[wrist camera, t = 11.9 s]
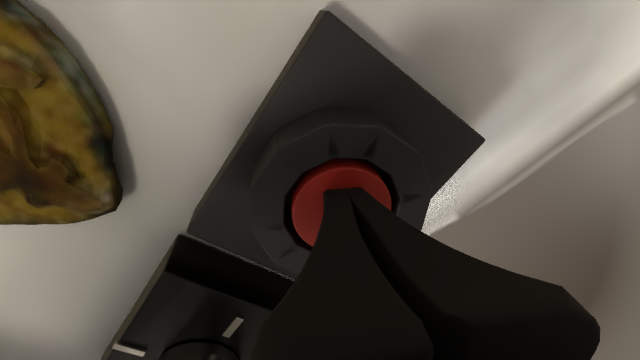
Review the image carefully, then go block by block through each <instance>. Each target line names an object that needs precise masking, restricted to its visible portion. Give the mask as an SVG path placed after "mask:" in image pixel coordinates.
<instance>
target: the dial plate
mask: <svg viewBox="0 0 640 360" xmlns="http://www.w3.org/2000/svg"><path fill="white" fill-rule="evenodd" d="M293 283H294V282H292V281H290V280H287V279H285V278H283V277H280V276H278V275H276V274H273V273H271V272H268V271H266V270H264V269H261V268H259V267H256V266H254V265H252V264H249V263H247V262H244V261H242V260H240V259H237V258H235V257H233V256H230V255H228V254H225V253H223V252H221V251H218V250H216V249H213V248H211V247H209V246H206V245H204V244H202V243H199V242H197V241H194V240H192V239H190V238H187V237H185V236H182V235H178V236H177V238H176V239H175V241H174V242H173V244H172V246H171V247H170V249H169V250H168V252H167V254H166V255H165V257H164V258H163V260H162V262H161V263H160V265H159V266H158V268H157V270H156V271H155V273H154V274H153V276H152V278H151V279H150V281H149V282H148V284H147V286H146V287H145V289H144V290H143V292H142V293H141V295H140V297H139V298H138V300H137V301H136V303H135V305H134V306H133V308H132V309H131V311H130V313H129V314H128V316H127V317H126V319H125V321H124V322H123V324H122V325H121V327H120V329H119V330H118V332H117V333H116V335H115V337H114V338H113V340H112V341H111V343H110V345H109V346H108V348H107V349H106V351H105V353H104V354H103V356H102V358H101V360H159V358H160V357H161V356H162V355H163V354H164V353H165V352H166V351H167V350H169V349H171V348H173V347H175V346H177V345H180V344H184V343H190V342H209V343H215V344H218V345H221V346H224V347H226V348H228V349H229V350H231V351H232V352H233V353H235V355H236V356H237V357H238V359H239V360H250V356H251V353H252V350H253V346H254V343H255V340H256V338H257V335H258V332H259V329H260V327H261V324H262V323H263V321H264V320H265V319H266V318H267V317H268V316H269V314H270V313H271V312H272V311H273V310H274V308H275V307H276V306H277V305H278V304H279V303H280V301H281V300H282V299H283V297H284V296H285V295H286V293H287V292H288V290H289V289H290V287H291V286H292V284H293Z"/></svg>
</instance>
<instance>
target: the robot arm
mask: <svg viewBox="0 0 640 360" xmlns="http://www.w3.org/2000/svg"><path fill="white" fill-rule="evenodd" d="M323 211H324V212H323V217H322V222H321V225H320V228H319V232H318V235H317V238H316V240H315V243H314V246H313V248H312V250H311V252H310V255H309V257H308V259H307V261H306V263H305V264H304V266H303V268H302V270H301V272H300V273H299V275H298V277H297V278H296V280H295V281H294V283H293V284H292V286H291V287H290V289H289V290H288V292H287V293H286V295H285V296H284V297H283V299H282V300H281V301H280V303H279V304H278V305H277V306H276V307H275V308H274V310H273V311H272V312H271V313H270V314H269V316H268V317H267V318H266V319H265V320H264V321H263V323H262V324H261V327H260V329H259V332H258V335H257V338H256V340H255V343H254V346H253V350H252V353H251V356H250V360H590V359H591V358H592V356H593V354H594V353H595V351H596V349H597V346H598V344H599V342H600V326H599V325H598V323H597V321H596V319H595V318H594V317H593V316H592V315H590V313H589V312H588V311H587V310H586V309H585V308H584V307H583V306H582V305H581V304H580V303H579V302H577V301H576V300H575V299H574V298H573V297H572V296H571V295H570V294H569V293H568V292H567V291H566V290H565V289H564V288H563V287H562V286H558V285H555V284H552V283H548V282H545V281H541V280H538V279H534V278H531V277H527V276H524V275H520V274H517V273H514V272H511V271H508V270H505V269H502V268H500V267H497V266H494V265H491V264H488V263H486V262H483V261H480V260H478V259H476V258H473V257H471V256H469V255H466V254H464V253H462V252H460V251H457V250H455V249H453V248H451V247H449V246H447V245H445V244H443V243H441V242H439V241H437V240H435V239H434V238H432V237H430V236H428V235H426V234H424V233H423V232H421V231H419V230H418V229H416V228H415V227H413V226H412V225H410V224H409V223H407V222H406V221H404V220H403V219H401V218H400V217H398V216H397V215H396V214H394V213H393V212H391V211H390V210H389V209H388V208H386V207H385V206H384V205H382V204H381V203H380V202H379V201H377V200H376V199H375V198H374V197H372V196H371V195H370V194H369V193H368V192H366V191H365V190H364V189H363V188H361V187H354V188H343V189H331V190H326V191H325V192H324V193H323Z"/></svg>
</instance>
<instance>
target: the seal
mask: <svg viewBox="0 0 640 360" xmlns="http://www.w3.org/2000/svg"><path fill="white" fill-rule="evenodd" d="M112 141H113V129H112V125H111V123H110V120H109V118H108V116H107V113H106V111H105V108H104V106H103V104H102V102H101V100H100V98H99V96H98V95H97V93H96V91H95V89H94V87H93V86H92V84H91V82H90V81H89V79H88V77H87V76H86V74H85V73H84V71H83V70H82V68H81V67H80V65H79V64H78V62H77V61H76V60H75V58H74V57H73V56H72V55H71V53H70V52H69V51H68V50H67V48H66V47H65V46H64V45H63V43H62V42H61V41H60V40H59V38H58V37H57V36H56V35H55V34H54V33H53V32H52V31H51V30H50V29H49V28H48V27H47V26H46V25H45V24H44V23H43V22H42V21H41V20H40V19H39V18H37V17H36V16H35V15H34V14H32V13H31V12H30V11H29V10H28V9H26V8H25V7H24V6H23V5H21V4H20V3H19V2H18V1H17V0H0V225H8V224H25V225H37V224H70V223H77V222H81V221H86V220H90V219H93V218H96V217H99V216H102V215H105V214H108V213H111V212H113V211H116V209H117V207H118V206H119V204H120V202H121V200H122V193H123V189H122V186H121V184H120V181H119V177H118V173H117V170H116V166H115V163H114V162H113V153H112Z"/></svg>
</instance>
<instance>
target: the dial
mask: <svg viewBox="0 0 640 360" xmlns="http://www.w3.org/2000/svg"><path fill="white" fill-rule="evenodd" d="M159 360H239V359H238V357H237V356H236V355H235V353H233V352H232V351H231V350H229V349H228V348H226V347H224V346H221V345H218V344H215V343H209V342H190V343H184V344H180V345H177V346H175V347H173V348H171V349H169V350H167V351H166V352H165V353H164V354H163V355H162V356H161V357H160V358H159Z"/></svg>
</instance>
